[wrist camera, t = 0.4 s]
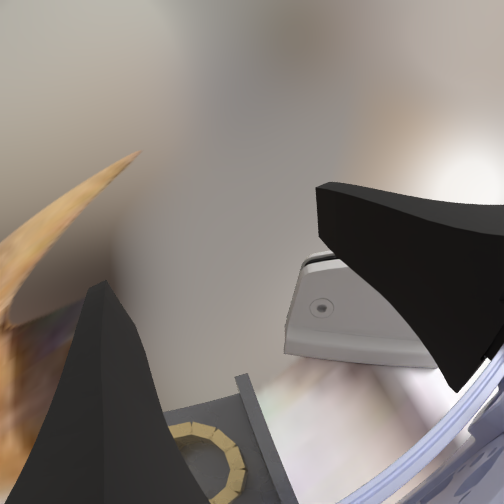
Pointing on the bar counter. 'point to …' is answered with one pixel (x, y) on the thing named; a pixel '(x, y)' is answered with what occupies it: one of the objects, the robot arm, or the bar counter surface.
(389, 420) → the bar counter surface
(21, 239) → the bar counter surface
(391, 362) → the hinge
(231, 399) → the cup bracket
